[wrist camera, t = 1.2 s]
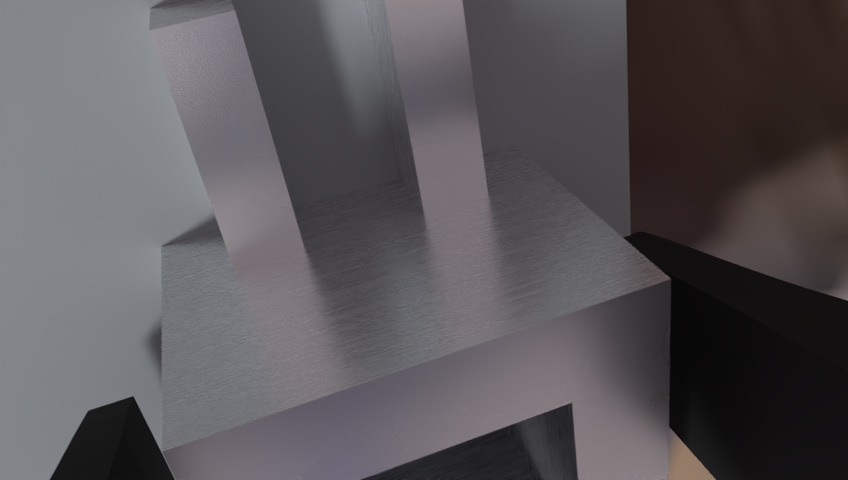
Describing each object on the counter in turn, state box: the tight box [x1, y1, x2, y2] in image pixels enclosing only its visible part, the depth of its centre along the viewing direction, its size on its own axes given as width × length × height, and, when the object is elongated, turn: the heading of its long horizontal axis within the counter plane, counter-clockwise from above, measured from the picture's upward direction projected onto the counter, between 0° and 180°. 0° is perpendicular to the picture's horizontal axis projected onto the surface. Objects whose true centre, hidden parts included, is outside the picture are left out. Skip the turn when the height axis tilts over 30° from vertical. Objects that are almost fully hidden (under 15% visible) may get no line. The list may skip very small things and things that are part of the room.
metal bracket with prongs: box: [149, 0, 671, 480], centre depth 9 cm, size 8×5×4 cm, turn 9°
